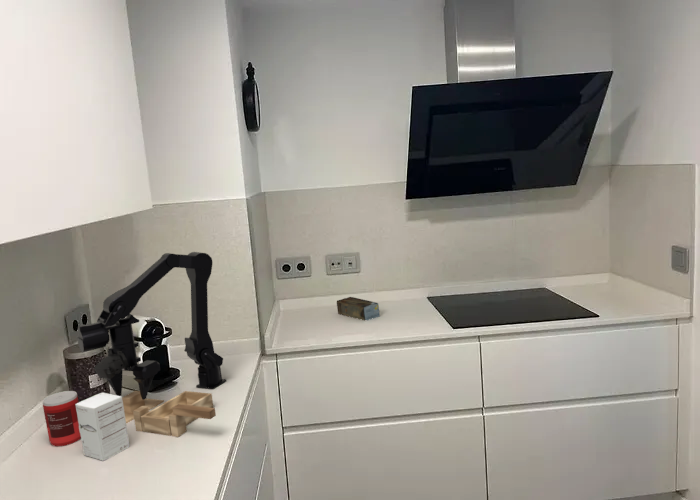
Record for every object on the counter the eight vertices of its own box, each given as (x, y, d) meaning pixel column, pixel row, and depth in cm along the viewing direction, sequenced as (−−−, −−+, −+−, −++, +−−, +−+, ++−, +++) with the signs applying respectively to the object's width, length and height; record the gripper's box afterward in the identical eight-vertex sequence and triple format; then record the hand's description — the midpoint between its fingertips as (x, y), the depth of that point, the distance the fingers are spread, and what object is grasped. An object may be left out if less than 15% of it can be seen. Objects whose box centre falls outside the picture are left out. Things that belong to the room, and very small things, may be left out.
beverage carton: (365, 321, 218) (363, 305, 217) (336, 314, 233) (335, 299, 232) (380, 317, 222) (379, 301, 221) (351, 310, 238) (350, 295, 237)
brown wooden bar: (179, 411, 133) (178, 404, 133) (215, 415, 129) (214, 408, 128) (173, 414, 132) (172, 407, 131) (210, 419, 127) (209, 411, 127)
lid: (140, 401, 158) (137, 384, 158) (164, 403, 155) (161, 386, 154) (94, 426, 144) (91, 408, 143) (119, 429, 140) (116, 411, 140)
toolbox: (180, 404, 151) (178, 386, 151) (220, 408, 146) (218, 389, 145) (136, 430, 137) (132, 410, 136) (178, 437, 131) (175, 416, 131)
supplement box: (82, 456, 127) (73, 403, 125) (111, 441, 133) (103, 391, 131) (102, 462, 123) (93, 408, 121) (131, 446, 129) (122, 395, 127)
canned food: (75, 429, 142) (68, 388, 140) (90, 436, 137) (83, 394, 135) (44, 442, 136) (36, 399, 134) (58, 450, 131) (50, 406, 129)
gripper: (72, 350, 144) (82, 406, 147) (124, 353, 136) (134, 413, 139) (107, 337, 154) (115, 390, 156) (157, 339, 146) (166, 395, 148)
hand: (131, 397), depth 150 cm, fingers open, 9 cm apart
